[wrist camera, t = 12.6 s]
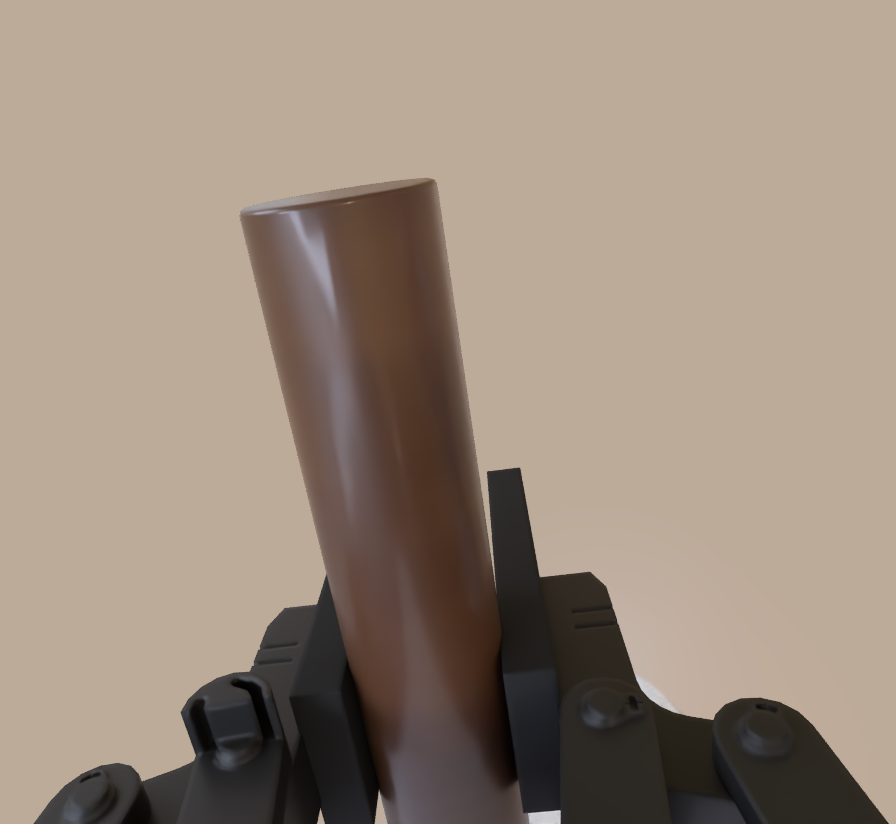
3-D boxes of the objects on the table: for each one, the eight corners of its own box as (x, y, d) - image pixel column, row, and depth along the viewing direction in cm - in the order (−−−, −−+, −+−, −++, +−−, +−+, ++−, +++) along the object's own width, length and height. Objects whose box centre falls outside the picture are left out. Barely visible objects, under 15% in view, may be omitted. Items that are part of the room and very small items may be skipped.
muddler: (589, 1020, 17) (488, 163, 10) (623, 1248, 14) (503, 177, 7) (436, 1031, 18) (233, 203, 10) (430, 1258, 14) (116, 237, 7)
